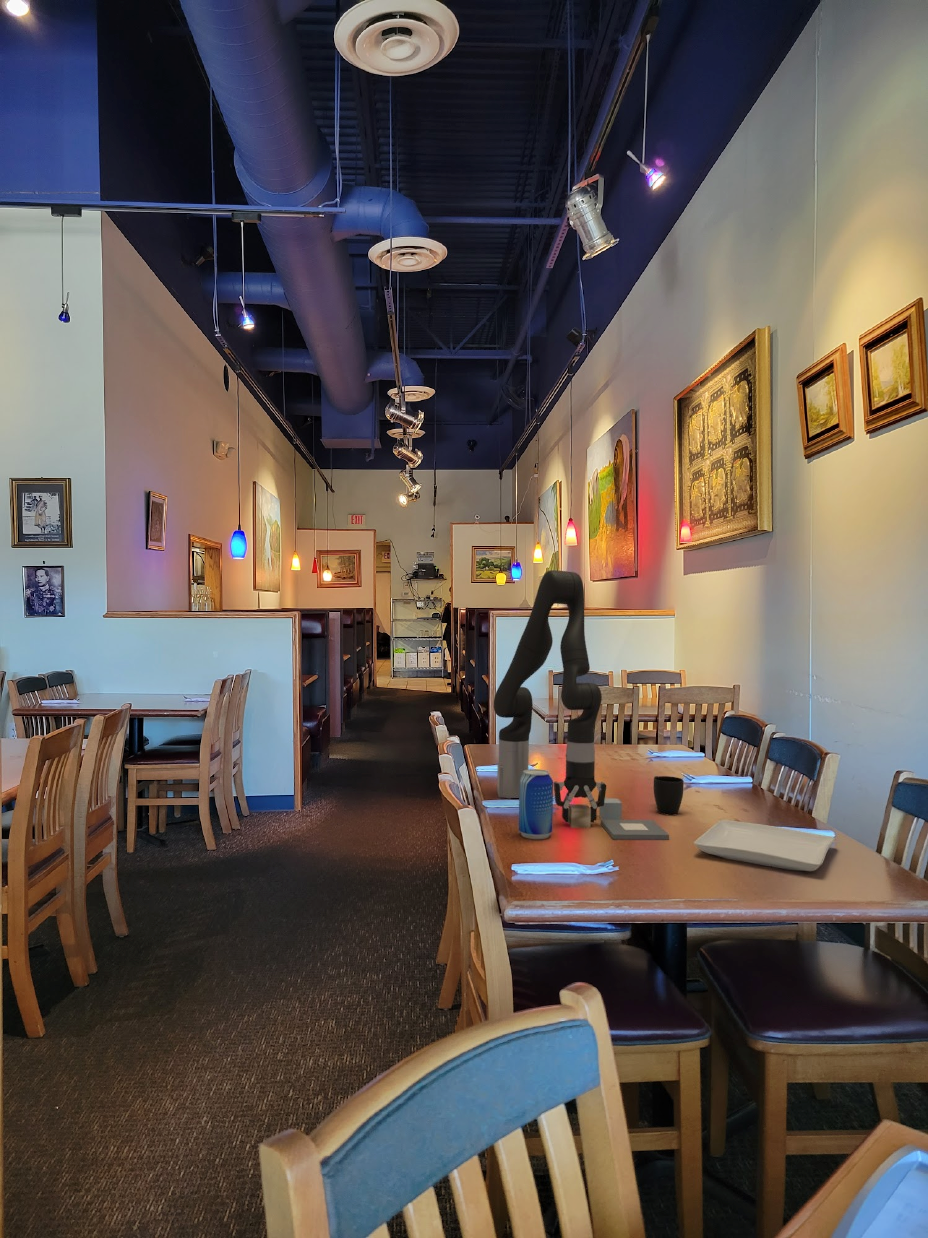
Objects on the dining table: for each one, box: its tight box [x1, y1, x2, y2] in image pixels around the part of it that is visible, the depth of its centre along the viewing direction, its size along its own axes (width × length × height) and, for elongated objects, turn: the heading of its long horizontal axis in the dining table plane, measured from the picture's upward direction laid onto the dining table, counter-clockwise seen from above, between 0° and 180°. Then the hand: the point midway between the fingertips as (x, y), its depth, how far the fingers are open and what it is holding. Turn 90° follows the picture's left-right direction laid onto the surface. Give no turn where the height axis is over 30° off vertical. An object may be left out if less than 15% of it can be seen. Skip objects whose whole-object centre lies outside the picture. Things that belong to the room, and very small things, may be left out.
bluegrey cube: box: [598, 798, 623, 820], centre depth 211 cm, size 5×5×5 cm
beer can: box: [518, 768, 554, 840], centre depth 193 cm, size 8×8×16 cm
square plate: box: [693, 819, 836, 872], centre depth 182 cm, size 27×27×4 cm
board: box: [600, 819, 670, 841], centre depth 198 cm, size 14×14×1 cm
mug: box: [653, 775, 685, 816], centre depth 220 cm, size 8×12×10 cm
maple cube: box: [568, 803, 591, 829], centre depth 203 cm, size 5×5×5 cm
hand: (579, 821), depth 203 cm, fingers open, 6 cm apart
